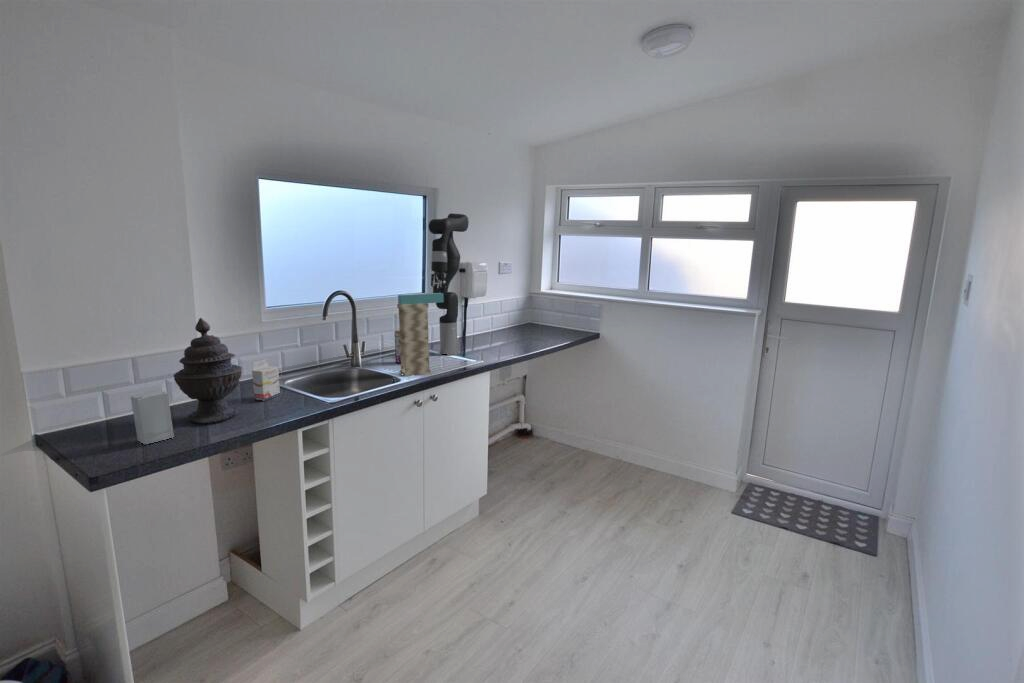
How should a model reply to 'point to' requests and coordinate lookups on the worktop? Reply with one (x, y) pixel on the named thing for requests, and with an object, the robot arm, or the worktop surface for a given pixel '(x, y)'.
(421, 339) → the beige zigzag patterned block
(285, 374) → the worktop surface
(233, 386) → the decorative urn
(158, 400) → the skincare box
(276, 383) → the ink cartridge box
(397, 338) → the candy bar box
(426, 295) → the rod
